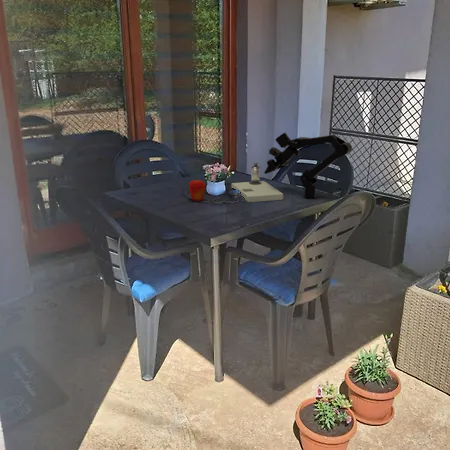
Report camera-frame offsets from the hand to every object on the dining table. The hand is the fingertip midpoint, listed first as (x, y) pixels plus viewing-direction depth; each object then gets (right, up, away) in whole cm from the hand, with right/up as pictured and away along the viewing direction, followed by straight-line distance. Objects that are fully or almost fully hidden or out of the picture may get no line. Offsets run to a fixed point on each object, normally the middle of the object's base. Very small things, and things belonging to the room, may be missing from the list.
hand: (268, 171), depth 280 cm
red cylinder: (-40, -17, -16) cm, 46 cm away
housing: (-7, -13, -3) cm, 15 cm away
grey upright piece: (-7, -6, +7) cm, 11 cm away
